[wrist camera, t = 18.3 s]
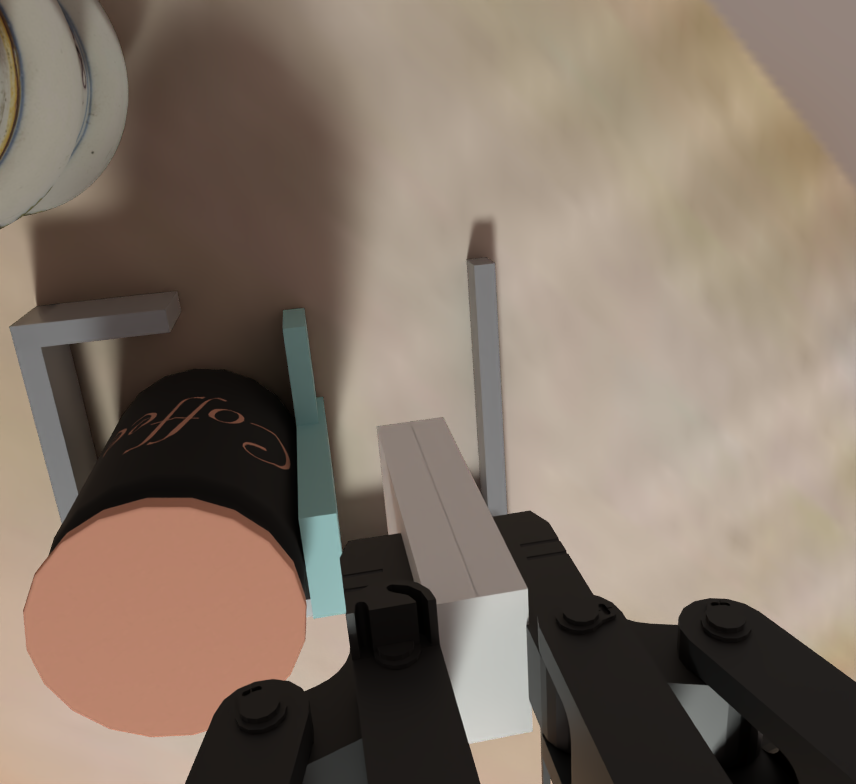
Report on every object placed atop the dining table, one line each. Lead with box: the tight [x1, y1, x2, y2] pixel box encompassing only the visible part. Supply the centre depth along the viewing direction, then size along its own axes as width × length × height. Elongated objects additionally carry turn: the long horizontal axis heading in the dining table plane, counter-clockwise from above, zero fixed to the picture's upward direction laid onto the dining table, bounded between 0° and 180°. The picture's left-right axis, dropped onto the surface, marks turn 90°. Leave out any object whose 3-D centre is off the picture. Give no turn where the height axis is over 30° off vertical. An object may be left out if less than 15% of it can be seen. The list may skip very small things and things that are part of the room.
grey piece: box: [9, 257, 507, 617], centre depth 46 cm, size 19×25×4 cm
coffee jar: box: [23, 369, 307, 737], centre depth 39 cm, size 11×11×18 cm
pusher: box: [283, 308, 346, 619], centre depth 41 cm, size 16×2×15 cm, turn 4°
